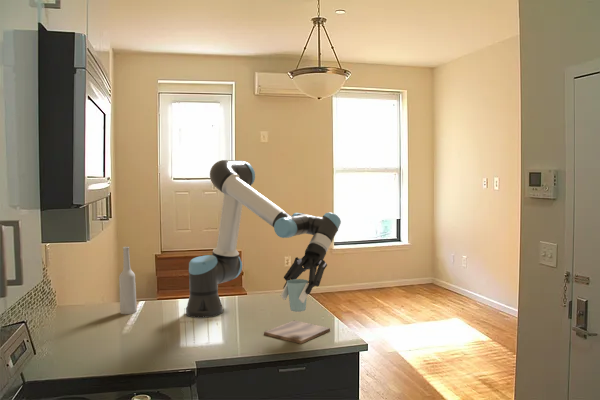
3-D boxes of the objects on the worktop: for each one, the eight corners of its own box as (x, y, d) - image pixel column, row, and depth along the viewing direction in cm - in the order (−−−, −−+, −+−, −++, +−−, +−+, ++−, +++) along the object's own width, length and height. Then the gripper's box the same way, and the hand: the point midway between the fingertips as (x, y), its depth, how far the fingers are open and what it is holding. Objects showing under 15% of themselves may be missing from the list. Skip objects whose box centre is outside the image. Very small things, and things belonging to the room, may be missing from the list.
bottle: (137, 313, 209) (134, 247, 207) (120, 315, 206) (118, 248, 205) (136, 309, 215) (133, 245, 214) (119, 311, 212) (117, 246, 211)
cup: (302, 305, 183) (301, 277, 183) (312, 310, 177) (312, 281, 176) (284, 309, 179) (283, 280, 179) (294, 313, 173) (293, 284, 172)
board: (264, 334, 177) (264, 331, 177) (293, 322, 191) (293, 320, 190) (301, 343, 167) (301, 340, 167) (330, 330, 180) (329, 328, 180)
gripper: (344, 256, 183) (319, 309, 171) (301, 252, 195) (275, 301, 184) (336, 243, 178) (310, 297, 166) (292, 240, 191) (265, 289, 179)
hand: (291, 299), depth 175 cm, fingers closed on cup, 8 cm apart
